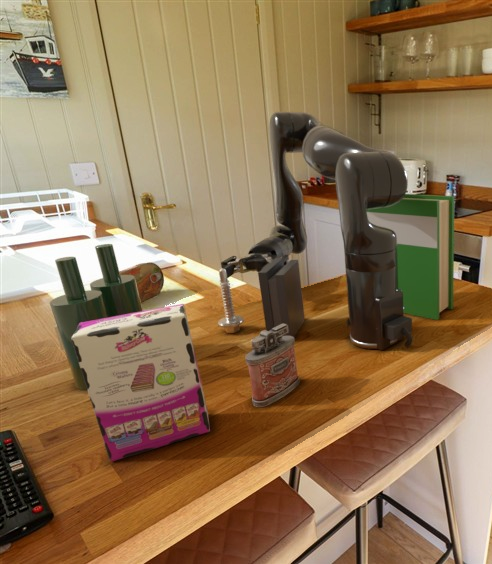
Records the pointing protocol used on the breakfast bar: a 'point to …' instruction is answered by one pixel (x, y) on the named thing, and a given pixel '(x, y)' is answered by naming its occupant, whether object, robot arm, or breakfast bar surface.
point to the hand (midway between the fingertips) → (244, 273)
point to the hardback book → (422, 250)
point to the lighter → (272, 366)
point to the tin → (146, 279)
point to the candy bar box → (142, 379)
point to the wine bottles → (91, 301)
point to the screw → (228, 306)
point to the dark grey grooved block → (282, 295)
